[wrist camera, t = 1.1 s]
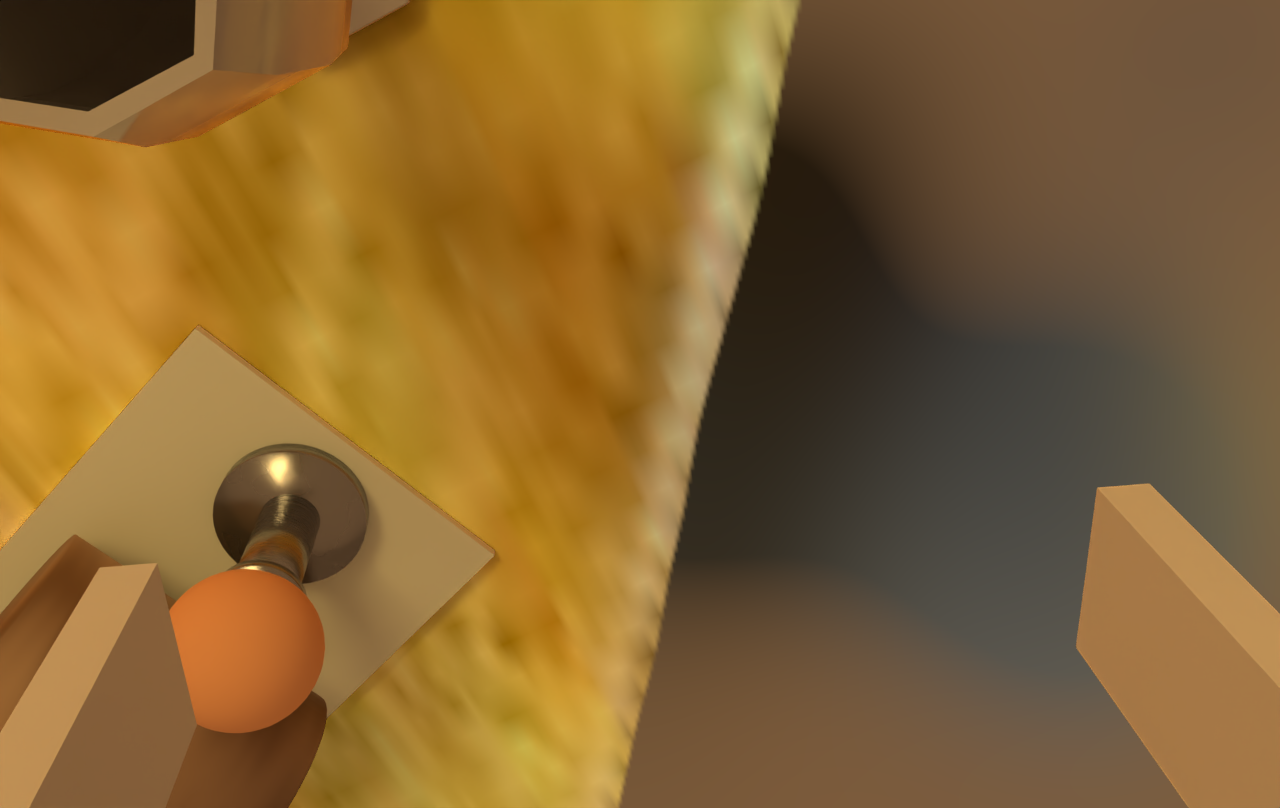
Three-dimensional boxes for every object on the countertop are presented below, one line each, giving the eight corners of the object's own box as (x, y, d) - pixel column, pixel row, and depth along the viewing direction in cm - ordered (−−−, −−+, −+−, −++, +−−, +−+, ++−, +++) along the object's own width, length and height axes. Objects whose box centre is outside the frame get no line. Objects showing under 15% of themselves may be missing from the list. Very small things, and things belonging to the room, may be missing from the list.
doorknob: (187, 515, 45) (135, 612, 39) (280, 414, 44) (240, 499, 38) (306, 598, 47) (274, 702, 41) (399, 504, 46) (379, 598, 40)
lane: (-304, 895, 51) (-382, 991, 47) (198, 324, 43) (160, 376, 38) (-9, 1039, 56) (-54, 1138, 51) (494, 550, 47) (491, 619, 43)
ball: (148, 611, 39) (98, 708, 35) (242, 511, 38) (204, 598, 34) (273, 692, 41) (241, 795, 36) (367, 599, 40) (346, 693, 35)
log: (-31, 646, 47) (-150, 811, 38) (106, 494, 45) (11, 634, 36) (205, 789, 50) (142, 967, 42) (342, 654, 48) (303, 815, 40)
